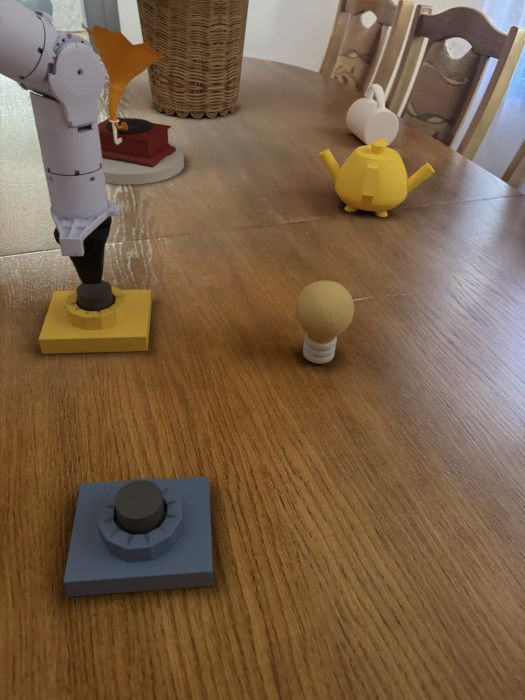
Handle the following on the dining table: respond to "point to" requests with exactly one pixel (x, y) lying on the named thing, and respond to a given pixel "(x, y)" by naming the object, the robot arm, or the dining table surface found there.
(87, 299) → the button
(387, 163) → the teapot
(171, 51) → the wicker basket
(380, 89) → the mug
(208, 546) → the block
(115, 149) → the gramophone
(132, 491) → the button
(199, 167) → the dining table surface
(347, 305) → the light bulb
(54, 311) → the block
